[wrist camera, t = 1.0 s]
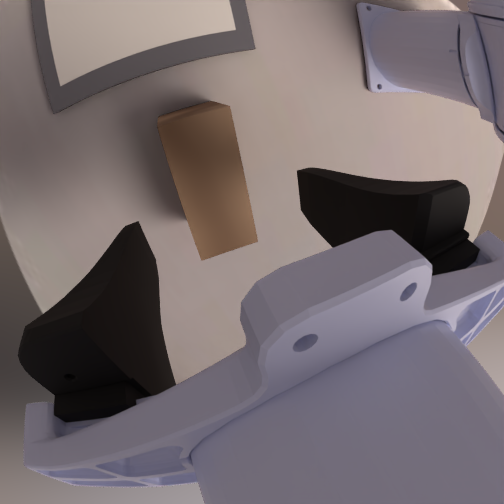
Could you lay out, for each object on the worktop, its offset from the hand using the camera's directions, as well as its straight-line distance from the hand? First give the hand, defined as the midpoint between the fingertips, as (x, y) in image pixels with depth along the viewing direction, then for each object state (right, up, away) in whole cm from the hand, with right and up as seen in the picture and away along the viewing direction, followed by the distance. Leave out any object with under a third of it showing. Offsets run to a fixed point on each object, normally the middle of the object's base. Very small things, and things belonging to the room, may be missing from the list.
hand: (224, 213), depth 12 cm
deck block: (-2, +4, +6) cm, 8 cm away
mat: (-6, +13, -2) cm, 14 cm away
